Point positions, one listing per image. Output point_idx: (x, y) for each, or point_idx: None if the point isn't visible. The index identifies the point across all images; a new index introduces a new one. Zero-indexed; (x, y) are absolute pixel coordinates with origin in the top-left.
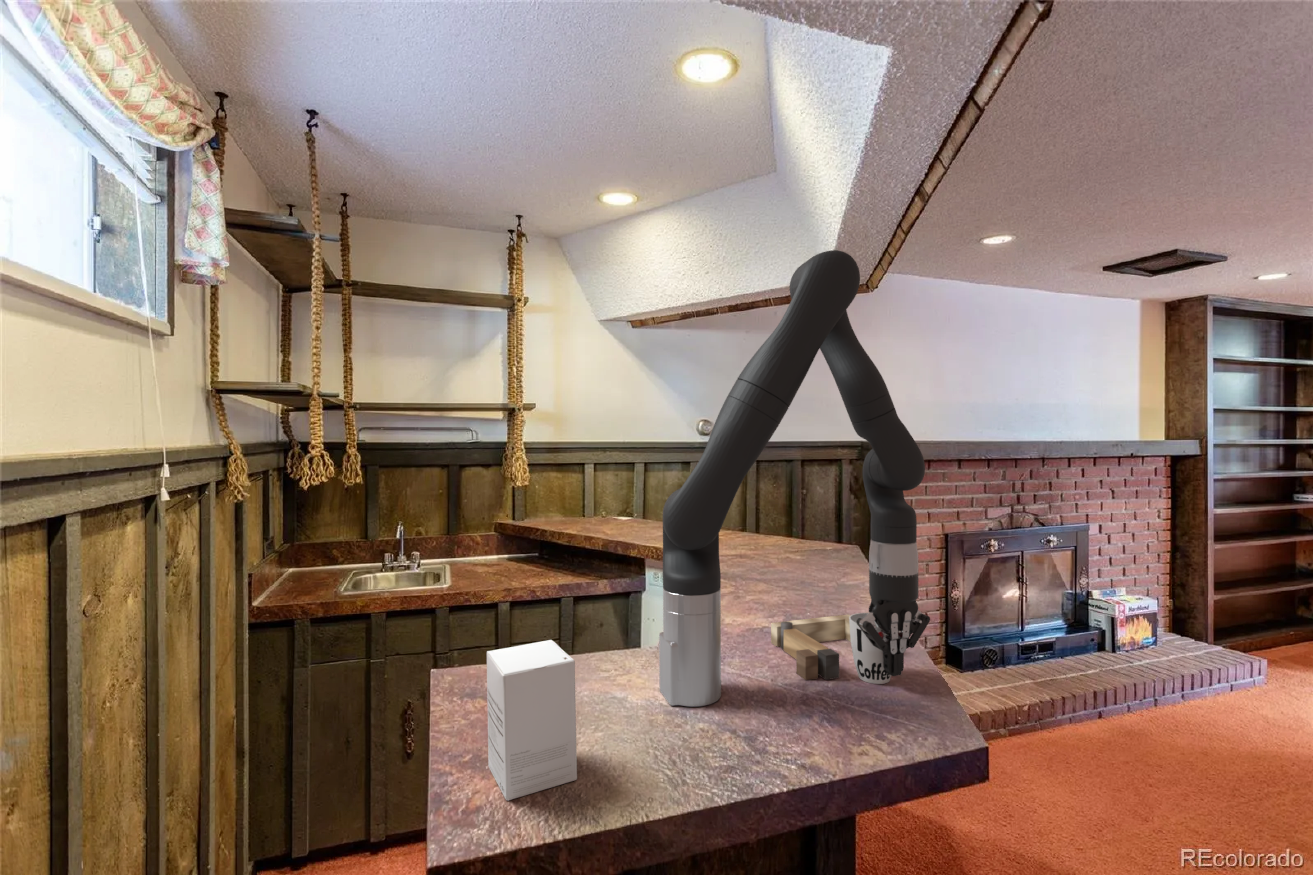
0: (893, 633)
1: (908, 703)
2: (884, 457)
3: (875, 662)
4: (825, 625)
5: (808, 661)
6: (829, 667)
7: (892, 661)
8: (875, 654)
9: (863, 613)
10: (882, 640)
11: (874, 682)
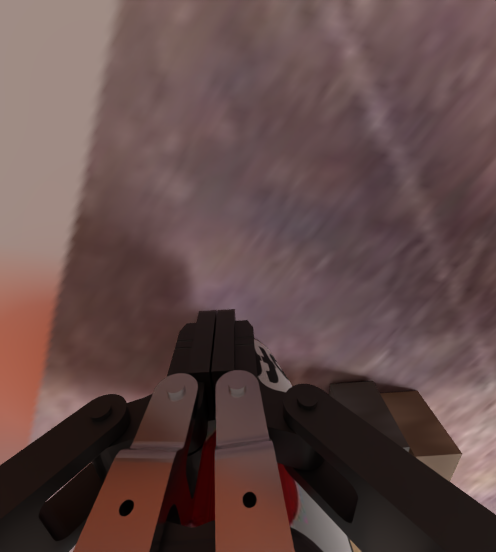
0: (264, 495)
1: (236, 198)
2: None
3: (271, 382)
4: None
5: (440, 437)
6: (375, 410)
7: (235, 351)
8: None
9: None
10: (337, 445)
11: (256, 341)
